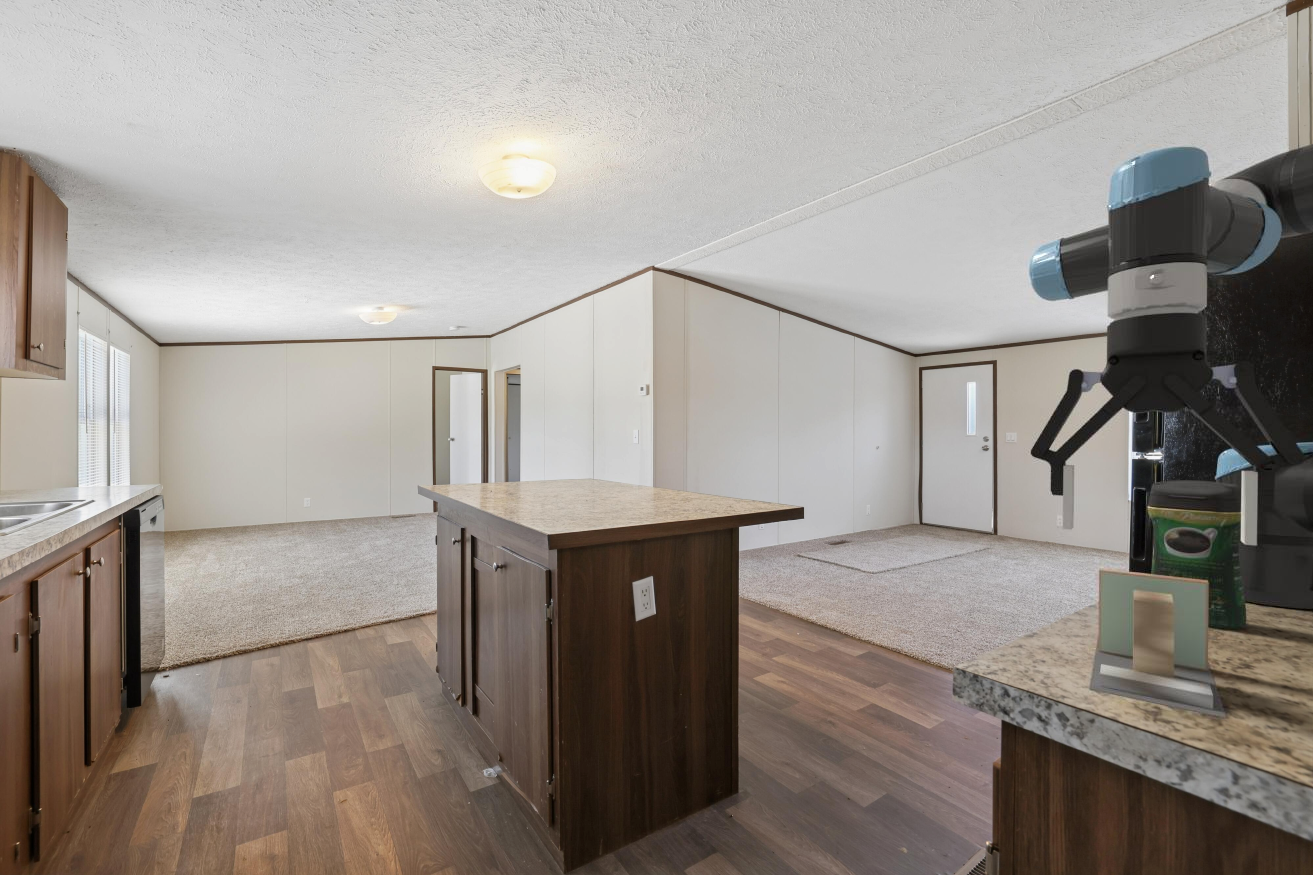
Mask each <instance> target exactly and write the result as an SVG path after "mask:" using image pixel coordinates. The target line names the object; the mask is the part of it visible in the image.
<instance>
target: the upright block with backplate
mask: <svg viewBox="0 0 1313 875" xmlns="http://www.w3.org/2000/svg"><path fill="white" fill-rule="evenodd" d="M1100 686H1103V687H1107V688H1112V689H1117V690H1122V691H1127V692H1132V693H1136V694H1141V695H1146V696H1151V697H1156V698H1161V699H1165V700H1170V701H1175V702H1180V703H1185V704H1190V705H1194V706H1199V707H1204V708H1209V709H1213V693H1212V690H1211V687H1210V685H1209V684H1204V683H1198V682H1193V681H1188V680H1183V679H1177V678H1174V602H1173V598H1172V594H1164V593H1156V592H1148V591H1140V590H1134V598H1133V670H1130V669H1124V668H1119V667H1114V666H1108V665H1103V664H1101V669H1100Z"/></svg>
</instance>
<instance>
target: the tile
mask: <svg viewBox="0 0 1313 875" xmlns="http://www.w3.org/2000/svg"><path fill="white" fill-rule="evenodd" d="M1134 590H1140V591H1148V592H1156V593H1164V594H1172V598H1173V602H1174V665H1176V666H1181V667H1187V668H1192V669H1198V670H1204V671H1208V664H1209V627H1208V597H1209V582H1208V581H1207V580H1199V579H1190V578H1181V577H1172V576H1163V575H1154V574H1151V573H1145V572H1134V571H1127V570H1117V569H1107V568H1099V569H1098V635H1099V650H1098V652H1103V653H1109V654H1114V655H1120V656H1125V657H1131V658H1133V598H1134Z"/></svg>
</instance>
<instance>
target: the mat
mask: <svg viewBox="0 0 1313 875" xmlns="http://www.w3.org/2000/svg"><path fill="white" fill-rule="evenodd" d="M1098 650H1099V634H1098V636H1097V642H1096V647H1095V652H1094V654H1095V655H1094V659H1093V666H1092V672H1091V675H1090V682H1089V683H1090V684H1089V688H1088V689H1089V690H1090V691H1095V692H1100V693H1105V694H1109V695H1113V696H1118V697H1124V698H1128V699H1133V700H1138V701H1141V702H1142V701H1143V702H1148V703H1152V704H1156V705H1161V706H1167V707H1170V708H1175V709H1180V710H1184V711H1190V712H1194V713H1198V714H1204V715H1207V716H1208V715H1209V716H1213V717H1217V718H1222V719H1228V717H1227V715H1226V712H1225V709H1224V706H1223V702H1222V699H1221V697H1220V693H1219V690H1218V688H1217V685H1216V682H1215V680H1214V679H1215V678H1214V676H1213V674H1212V671H1211V668H1210V665H1209V664H1210V663H1208V671H1204V670H1198V669H1192V668H1187V667H1181V666H1176V665H1174V678H1177V679H1183V680H1188V681H1193V682H1198V683H1204V684H1209V685H1210V687H1211V690H1212V693H1213V709H1209V708H1204V707H1199V706H1194V705H1190V704H1185V703H1180V702H1175V701H1170V700H1165V699H1161V698H1156V697H1151V696H1146V695H1141V694H1136V693H1132V692H1127V691H1122V690H1117V689H1112V688H1107V687H1103V686H1100V669H1101V664H1103V665H1108V666H1114V667H1119V668H1124V669H1130V670H1133V658H1131V657H1125V656H1120V655H1114V654H1109V653H1103V652H1098Z"/></svg>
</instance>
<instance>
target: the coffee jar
mask: <svg viewBox="0 0 1313 875" xmlns="http://www.w3.org/2000/svg"><path fill="white" fill-rule="evenodd" d="M1148 498H1149V499H1148V504H1147V506H1146V507H1147V513H1148V516H1149V518H1150V520H1151V522H1152V528H1153V529H1152V530H1153V552H1152V562H1151V564H1152V565H1151V572H1150V574H1154V575H1163V576H1172V577H1181V578H1190V579H1199V580H1207V581H1208V582H1209V597H1208V628H1210V629H1216V630H1225V631H1228V630H1237V631H1239V630H1241V629H1243V628H1244V627H1245V626H1246V624H1247V608H1246V601H1245V598H1244V591H1243V585H1242V578H1241V571H1240V563H1239V545H1238V538H1239V530H1240V527H1241V489H1240V487H1239V486H1238V485H1235V484H1227V483H1219V482H1216V481H1208V480H1191V479H1188V480H1186V479H1185V480H1165V481H1158V482H1157V481H1156V482H1153V484H1152V485H1151V489H1150V492H1149V497H1148Z"/></svg>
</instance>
